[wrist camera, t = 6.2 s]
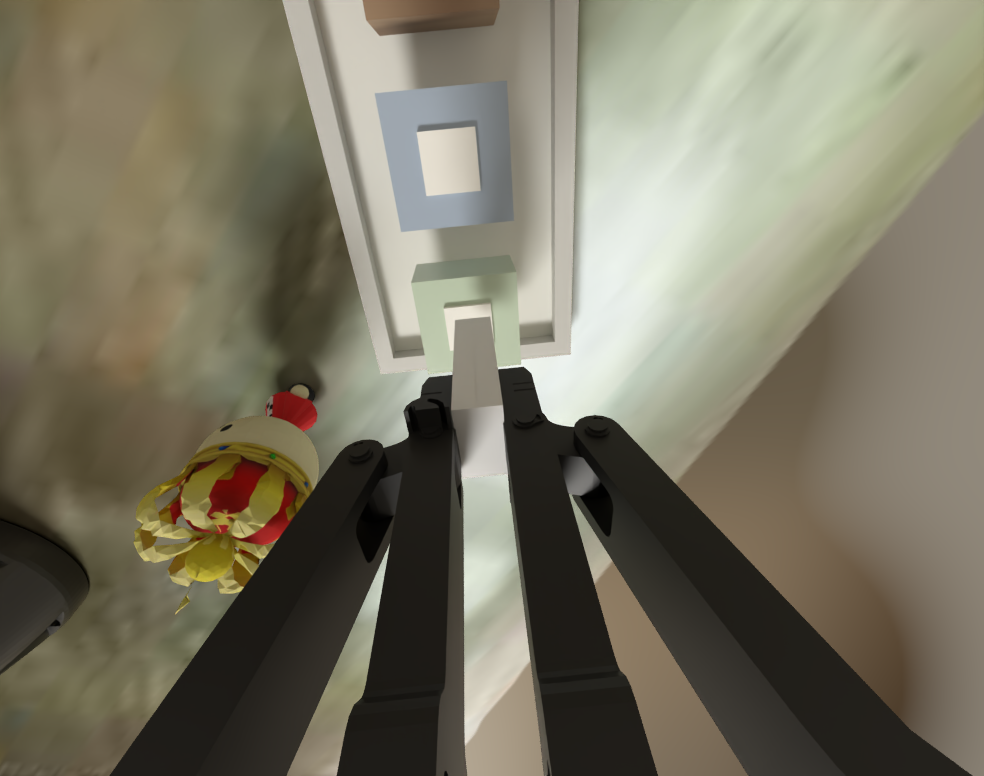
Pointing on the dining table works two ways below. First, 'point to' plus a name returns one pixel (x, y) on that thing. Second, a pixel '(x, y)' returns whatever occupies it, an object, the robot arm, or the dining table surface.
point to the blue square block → (448, 154)
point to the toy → (235, 495)
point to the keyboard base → (366, 177)
